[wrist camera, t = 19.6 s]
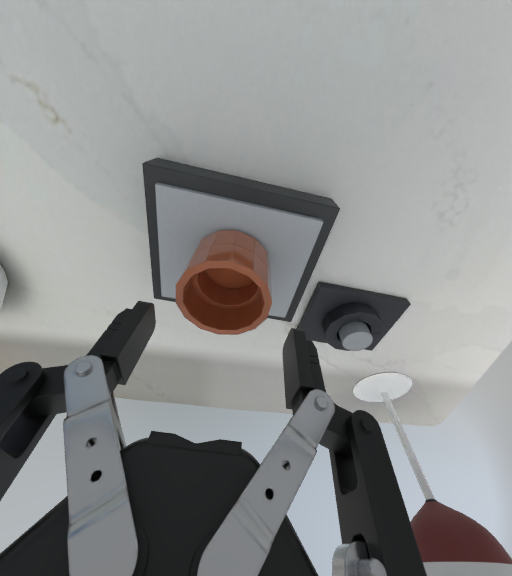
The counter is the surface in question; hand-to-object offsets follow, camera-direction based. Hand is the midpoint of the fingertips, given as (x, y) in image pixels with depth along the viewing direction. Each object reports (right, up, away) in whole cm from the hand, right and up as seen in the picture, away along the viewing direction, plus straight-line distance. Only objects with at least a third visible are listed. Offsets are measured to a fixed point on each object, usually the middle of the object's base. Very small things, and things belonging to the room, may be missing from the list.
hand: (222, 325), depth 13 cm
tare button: (+12, -2, +11) cm, 17 cm away
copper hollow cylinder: (0, +4, +5) cm, 7 cm away
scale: (0, +6, +8) cm, 10 cm away
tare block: (+13, -1, +13) cm, 18 cm away
